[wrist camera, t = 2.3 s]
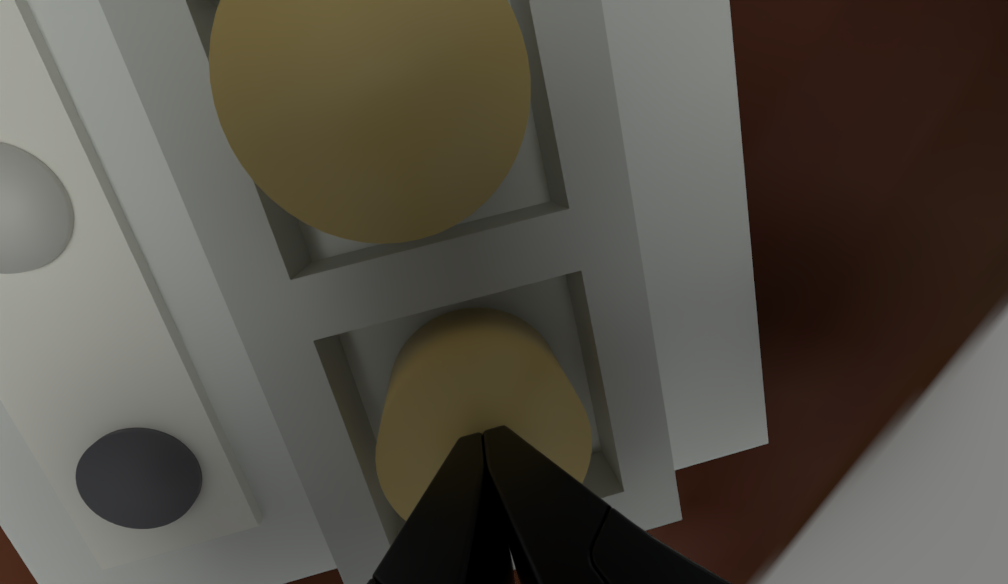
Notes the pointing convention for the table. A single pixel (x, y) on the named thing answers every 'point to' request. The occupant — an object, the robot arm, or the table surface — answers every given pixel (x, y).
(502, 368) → the button
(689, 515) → the table surface
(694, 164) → the board
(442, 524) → the robot arm
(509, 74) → the button mid
